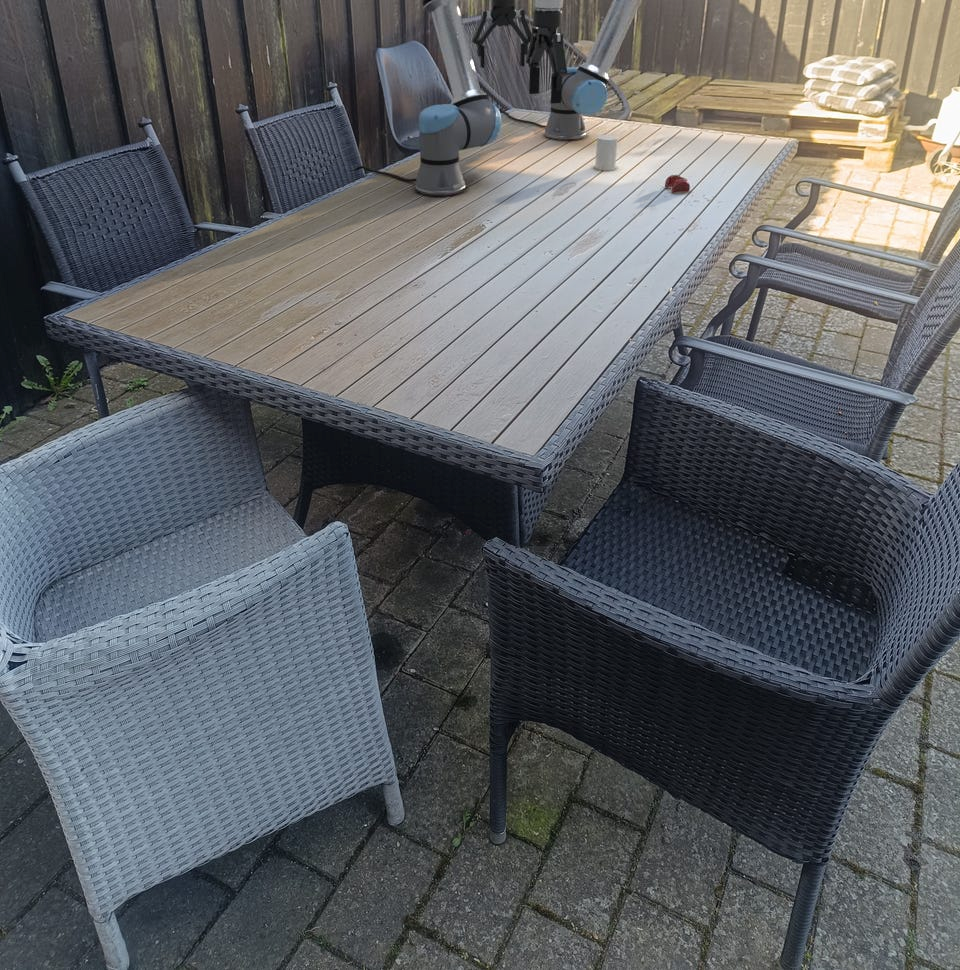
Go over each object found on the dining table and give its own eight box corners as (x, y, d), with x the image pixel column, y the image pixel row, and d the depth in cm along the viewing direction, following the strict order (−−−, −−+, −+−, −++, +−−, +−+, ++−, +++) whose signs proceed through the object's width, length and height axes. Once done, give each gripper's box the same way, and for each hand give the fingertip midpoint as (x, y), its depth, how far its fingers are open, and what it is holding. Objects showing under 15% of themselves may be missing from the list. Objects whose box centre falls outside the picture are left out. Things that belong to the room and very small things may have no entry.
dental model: (681, 171, 259) (692, 178, 253) (679, 184, 262) (690, 192, 256) (664, 173, 258) (675, 180, 252) (662, 186, 261) (673, 194, 255)
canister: (591, 168, 278) (593, 137, 272) (602, 164, 282) (604, 133, 276) (608, 171, 274) (610, 140, 269) (619, 167, 279) (621, 137, 273)
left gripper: (583, 14, 209) (578, 106, 221) (540, 3, 227) (537, 88, 240) (556, 15, 206) (552, 108, 219) (515, 4, 225) (513, 90, 237)
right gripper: (467, -6, 261) (467, 70, 274) (544, -7, 266) (541, 67, 278) (462, -8, 267) (463, 65, 280) (538, -10, 272) (535, 63, 284)
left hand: (544, 98), depth 229 cm, fingers open, 13 cm apart
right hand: (502, 66), depth 279 cm, fingers open, 13 cm apart
